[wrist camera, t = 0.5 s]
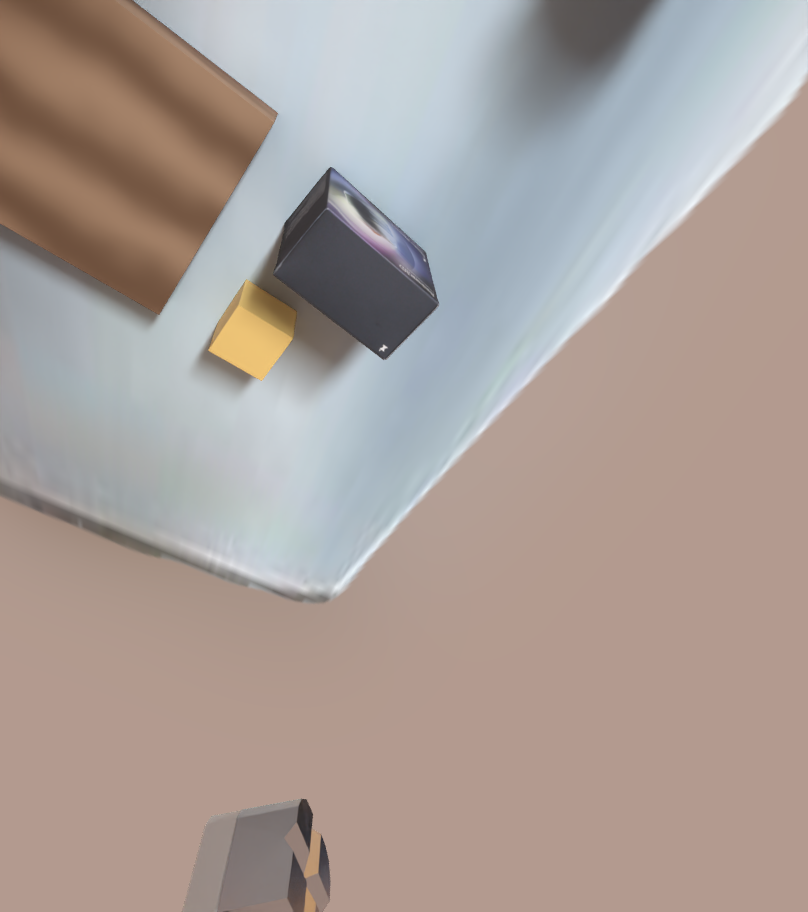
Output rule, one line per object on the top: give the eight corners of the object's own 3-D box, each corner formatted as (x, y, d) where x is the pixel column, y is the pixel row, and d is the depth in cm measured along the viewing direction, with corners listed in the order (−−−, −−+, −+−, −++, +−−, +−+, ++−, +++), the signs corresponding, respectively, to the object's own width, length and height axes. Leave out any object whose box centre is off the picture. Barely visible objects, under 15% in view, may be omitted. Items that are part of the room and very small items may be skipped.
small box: (431, 250, 55) (445, 305, 47) (380, 304, 58) (385, 366, 49) (332, 160, 50) (328, 204, 42) (281, 225, 53) (268, 278, 45)
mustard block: (246, 279, 56) (238, 305, 52) (297, 311, 58) (293, 338, 54) (217, 322, 58) (208, 350, 54) (267, 351, 60) (261, 381, 56)
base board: (23, -85, 40) (2, -86, 38) (278, 113, 48) (274, 122, 45) (-62, 164, 48) (-83, 175, 46) (167, 299, 56) (158, 314, 54)
